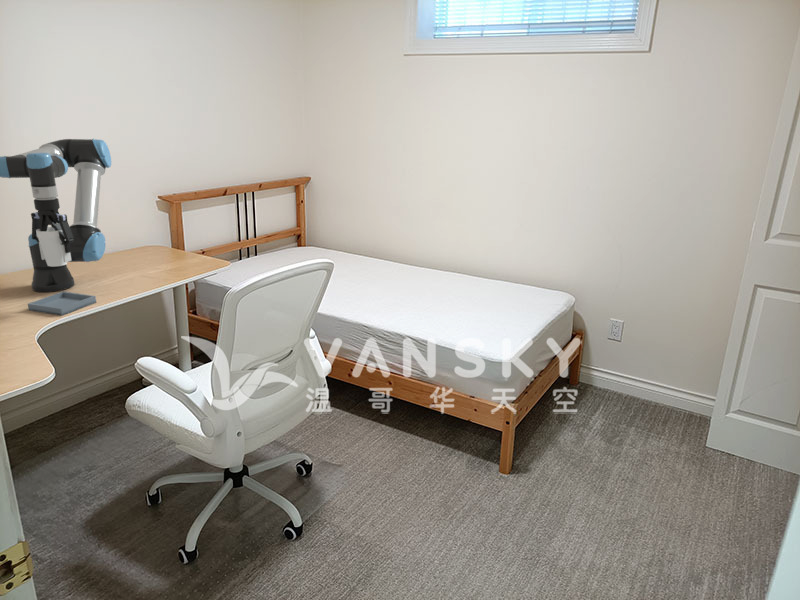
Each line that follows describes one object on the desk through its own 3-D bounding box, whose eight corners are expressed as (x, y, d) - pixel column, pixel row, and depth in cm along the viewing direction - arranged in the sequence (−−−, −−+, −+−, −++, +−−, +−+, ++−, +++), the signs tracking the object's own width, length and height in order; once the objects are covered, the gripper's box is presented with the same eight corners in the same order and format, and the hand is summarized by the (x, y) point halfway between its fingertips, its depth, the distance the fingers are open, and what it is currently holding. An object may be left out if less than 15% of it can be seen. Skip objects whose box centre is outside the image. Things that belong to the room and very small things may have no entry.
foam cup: (52, 260, 217) (46, 226, 213) (77, 261, 217) (71, 226, 213) (36, 267, 208) (30, 231, 204) (62, 268, 208) (56, 232, 204)
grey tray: (28, 310, 213) (27, 303, 212) (64, 297, 227) (63, 291, 226) (62, 315, 208) (61, 308, 207) (96, 302, 222) (95, 295, 221)
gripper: (12, 197, 205) (24, 259, 212) (61, 201, 198) (72, 265, 205) (30, 194, 211) (41, 255, 218) (79, 198, 205) (89, 260, 212)
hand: (56, 260), depth 212 cm, fingers closed on foam cup, 9 cm apart
